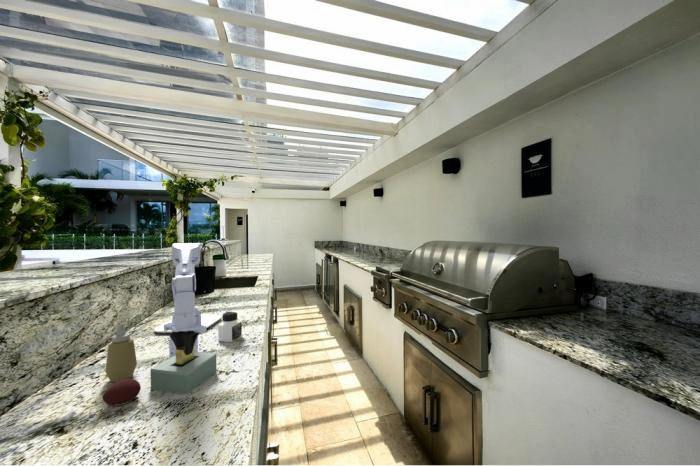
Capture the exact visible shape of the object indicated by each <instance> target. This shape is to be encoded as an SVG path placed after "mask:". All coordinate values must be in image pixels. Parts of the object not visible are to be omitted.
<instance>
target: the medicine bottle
mask: <svg viewBox="0 0 700 466" xmlns="http://www.w3.org/2000/svg"><path fill="white" fill-rule="evenodd" d="M242 325H243V323H242V321H241V320H238V312H237V311H234V310H229V311H226V312H224V313H222V323H220V324H218V325H217V332H218V333H217V334H218V337H217V338H218V342H225V343H226V342H227V343H233V342H235V341H236V340H238V339H241V337H243V335H242V334H243V331H242V329H243V328H242V327H243V326H242Z"/></svg>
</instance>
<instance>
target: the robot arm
mask: <svg viewBox="0 0 700 466" xmlns="http://www.w3.org/2000/svg"><path fill="white" fill-rule="evenodd" d="M201 254H202V253H201V243H200V242H193V243H192V242H188V243H187V242H185V243H183V242H182V243H175V242H174V243H172V245H171V258H172V263H173V265H174V266H175V271H174V277H172V281H171V289H172V295H173V296H172V298H173V300H174V302H173V307H174V308H173V310H174V311H173V314H172V319H171V320H172V323H167V324H165V325H164V331H167V330H172V333H168V335H169V336H168V337H169V341H168V345H169V346H168V350H169V351H168V352H169V353H168V354H169V355H168V356H167V359H169V358H171V357H173V356H175V355H176V350H177V349H179V348H180V347H182V346H184V345H185V353H186V355H189V354H191V353H192V351H193V347H194V351H195V352H204V350H202V349H199V335H201V334H202V335H203V334H205V333H206V332H207V328H206V326H203V325H201V315H202V311H201V310H200V309H199V308H198V307H195V305H196V303H195V299H196V298H195V297H196V296H195V292H196V290H197V278H196V272H195V271H196V269H195V267H196V266H197V265H199V264H200V262H201ZM195 314H196V315H195Z"/></svg>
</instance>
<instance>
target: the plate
mask: <svg viewBox="0 0 700 466" xmlns="http://www.w3.org/2000/svg"><path fill="white" fill-rule="evenodd" d="M195 315H196V314H195ZM221 319H223V316H221V315H220V314H201V325H203V326H206V329H207V328H209V327H211V326H212V325H214V324H215V323H216V322H218V321H219V320H221ZM167 323H172V319H170V320H169V321H166V322H164V323H162V324H160V325H158V326H156V327H154V329H153V330H154V331H155V332H156V333H159V334H171V333H172V330H167V331H164V325H165V324H167Z"/></svg>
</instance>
